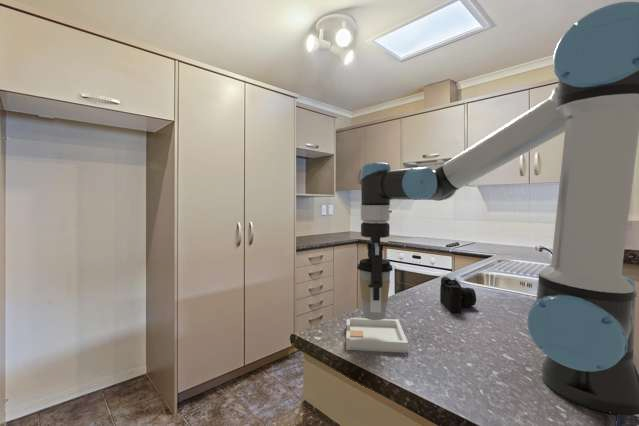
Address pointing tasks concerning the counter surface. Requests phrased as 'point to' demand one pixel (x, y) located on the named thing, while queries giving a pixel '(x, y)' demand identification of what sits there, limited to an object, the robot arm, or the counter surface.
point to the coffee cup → (365, 290)
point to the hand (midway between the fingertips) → (374, 306)
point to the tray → (375, 335)
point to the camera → (455, 295)
